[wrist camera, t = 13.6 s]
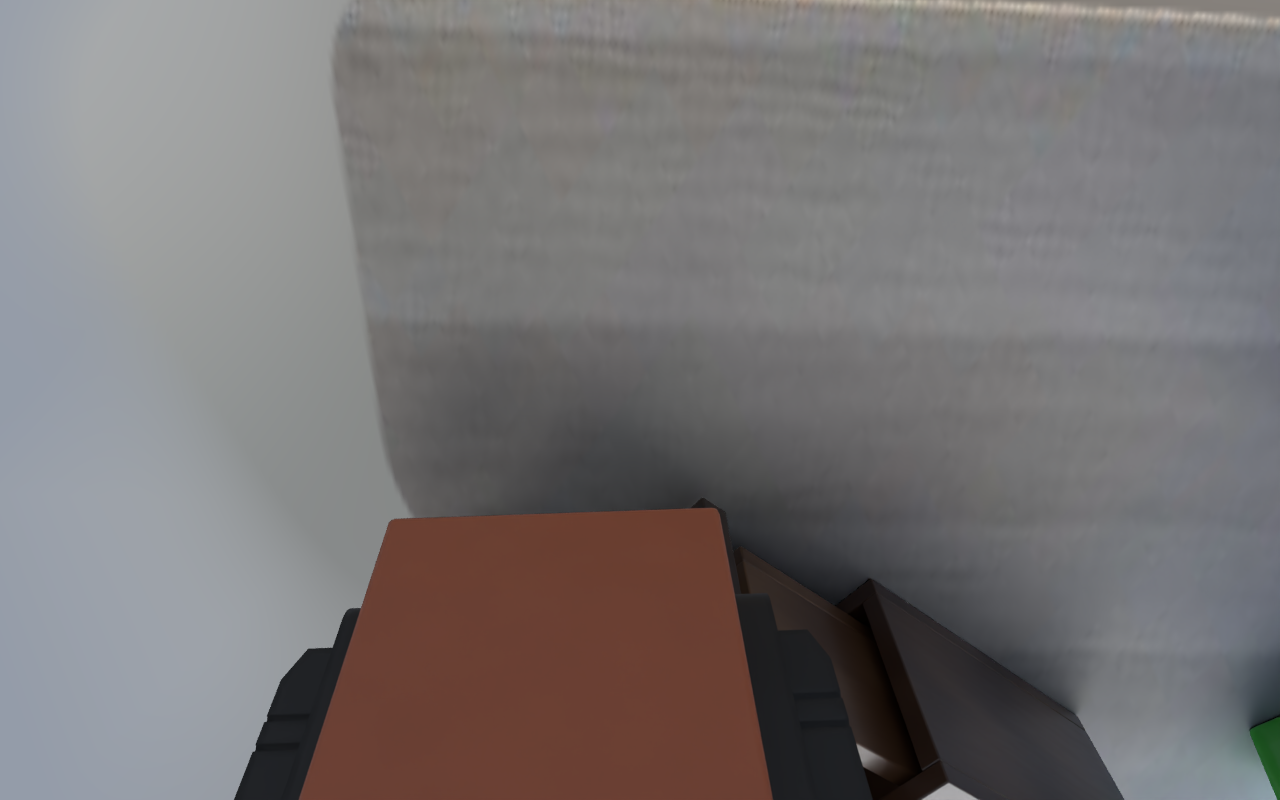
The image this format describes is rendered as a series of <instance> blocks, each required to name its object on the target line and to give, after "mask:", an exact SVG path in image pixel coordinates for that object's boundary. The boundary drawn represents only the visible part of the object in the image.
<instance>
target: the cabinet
mask: <svg viewBox="0 0 1280 800" xmlns="http://www.w3.org/2000/svg"><path fill="white" fill-rule="evenodd" d="M836 607H837V608H839V609H840V610H842V611H844V612H845V613H847V614H848V615H850V616H851V617H853V618H855V619H856V620H858V621H859V622H861V623H862V624H864V625H866V626H867V627H869V628H870V629H872V632H873V635H874V637H875V640H876V643H877V646H878V649H879V651H880V654H881V657H882V660H883V663H884V665H885V668H886V671H887V674H888V677H889V679H890V682H891V685H892V688H893V691H894V694H895V696H896V699H897V702H898V705H899V708H900V710H901V713H902V716H903V719H904V722H905V724H906V727H907V730H908V733H909V736H910V738H911V741H912V744H913V747H914V750H915V753H916V755H917V758H918V761H919V764H920V767H921V769H922V771H923V772H921V773H920V774H918V775H917V776H915V777H913V778H912V779H910V780H909V781H907V782H906V783H904V784H903V785H901V786H899V787H898V788H896V789H895V790H893V791H892V792H890V793H888V794H887V795H885V796H884V797H882V798H881V799H879V800H1124V798H1123V796H1122V795H1121V793H1120V791H1119V789H1118V788H1117V786H1116V784H1115V782H1114V780H1113V779H1112V777H1111V775H1110V773H1109V772H1108V770H1107V768H1106V766H1105V764H1104V763H1103V761H1102V759H1101V757H1100V756H1099V754H1098V752H1097V750H1096V748H1095V747H1094V745H1093V743H1092V741H1091V740H1090V738H1089V736H1088V734H1087V733H1086V731H1085V729H1084V727H1083V725H1082V724H1081V722H1080V720H1079V718H1078V717H1077V716H1076V715H1074V714H1073V713H1071V712H1070V711H1068V710H1067V709H1065V708H1064V707H1062V706H1061V705H1059V704H1058V703H1056V702H1055V701H1053V700H1052V699H1050V698H1049V697H1047V696H1046V695H1044V694H1043V693H1041V692H1040V691H1038V690H1037V689H1035V688H1034V687H1032V686H1031V685H1029V684H1028V683H1026V682H1025V681H1023V680H1022V679H1020V678H1019V677H1017V676H1016V675H1014V674H1013V673H1011V672H1010V671H1008V670H1007V669H1005V668H1004V667H1002V666H1001V665H999V664H998V663H996V662H995V661H993V660H992V659H990V658H989V657H987V656H986V655H984V654H983V653H982V652H980V651H979V650H977V649H976V648H974V647H973V646H971V645H970V644H968V643H967V642H965V641H964V640H962V639H961V638H959V637H958V636H956V635H955V634H953V633H952V632H950V631H949V630H947V629H946V628H944V627H943V626H941V625H940V624H938V623H937V622H935V621H934V620H932V619H931V618H929V617H928V616H926V615H925V614H923V613H922V612H920V611H919V610H917V609H916V608H914V607H913V606H911V605H910V604H908V603H907V602H905V601H904V600H902V599H901V598H899V597H898V596H896V595H895V594H893V593H892V592H890V591H889V590H887V589H886V588H884V587H883V586H881V585H880V584H878V583H877V582H875V581H874V580H872V579H870V580H869V581H867V582H866V583H865V584H863V585H862V586H861V587H860V588H858V589H857V590H856V591H854V592H853V593H852V594H851V595H849V596H848V597H847V598H845V599H844V600H843V601H842V602H840V603H839V604H838V605H837V606H836Z"/></svg>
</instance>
